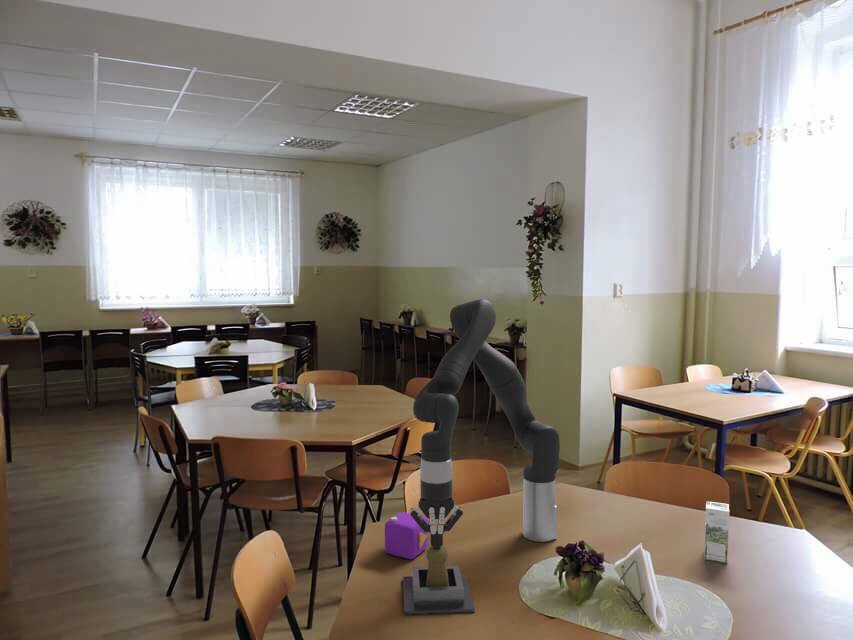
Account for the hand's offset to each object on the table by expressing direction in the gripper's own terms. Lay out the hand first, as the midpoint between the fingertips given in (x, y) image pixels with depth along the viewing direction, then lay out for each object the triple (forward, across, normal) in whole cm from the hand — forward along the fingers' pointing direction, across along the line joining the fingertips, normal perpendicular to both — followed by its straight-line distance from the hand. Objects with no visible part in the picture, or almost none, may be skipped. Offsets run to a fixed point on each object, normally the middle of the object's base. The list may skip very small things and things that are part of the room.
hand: (436, 547), depth 149 cm
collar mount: (+12, 0, 0) cm, 12 cm away
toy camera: (+12, +6, -25) cm, 28 cm away
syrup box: (+12, -76, -14) cm, 78 cm away
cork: (+11, 0, 0) cm, 11 cm away
